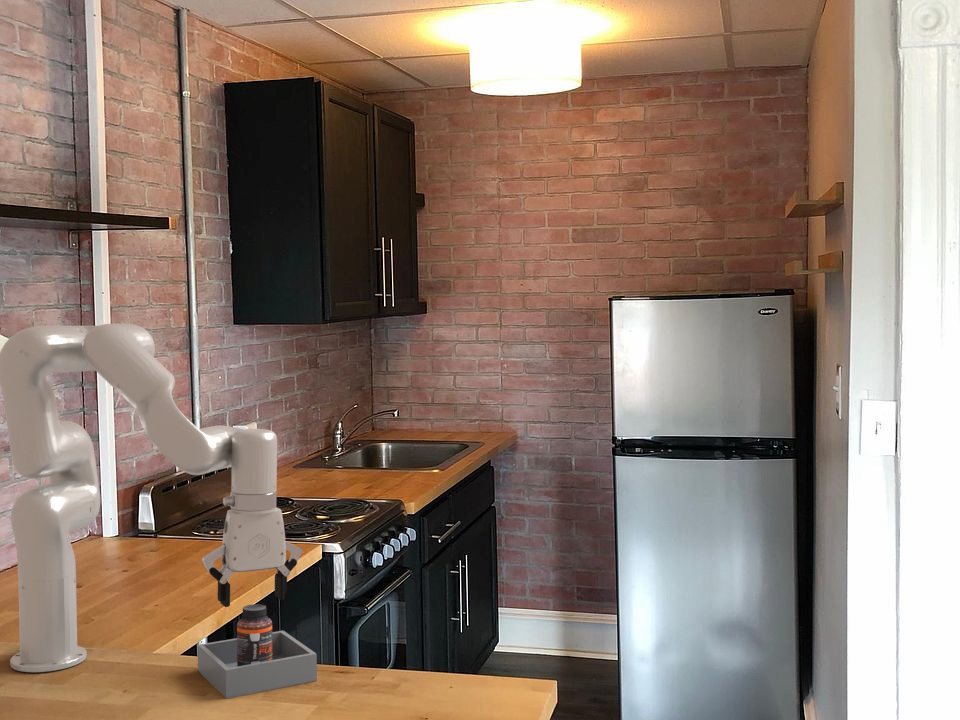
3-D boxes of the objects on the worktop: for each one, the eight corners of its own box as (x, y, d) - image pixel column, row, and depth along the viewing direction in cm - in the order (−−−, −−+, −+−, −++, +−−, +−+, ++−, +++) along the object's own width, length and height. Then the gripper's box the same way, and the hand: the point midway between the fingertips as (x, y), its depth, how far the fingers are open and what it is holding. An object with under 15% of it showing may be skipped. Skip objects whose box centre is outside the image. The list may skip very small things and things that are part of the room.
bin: (198, 671, 179) (197, 644, 179) (283, 655, 188) (283, 630, 187) (226, 698, 166) (225, 670, 166) (316, 680, 174) (316, 653, 174)
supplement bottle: (264, 679, 173) (263, 612, 173) (231, 677, 174) (230, 610, 174) (278, 667, 179) (277, 603, 179) (246, 665, 180) (245, 601, 180)
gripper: (210, 509, 168) (209, 613, 169) (310, 501, 177) (308, 600, 178) (196, 502, 174) (195, 602, 175) (293, 494, 184) (292, 590, 184)
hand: (252, 601), depth 177 cm, fingers open, 9 cm apart
